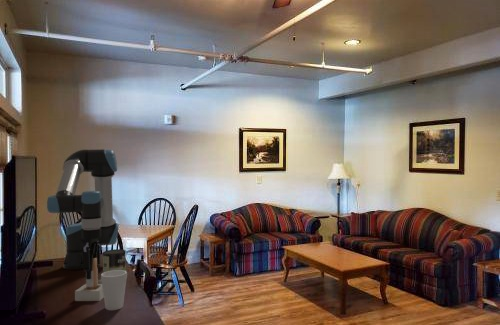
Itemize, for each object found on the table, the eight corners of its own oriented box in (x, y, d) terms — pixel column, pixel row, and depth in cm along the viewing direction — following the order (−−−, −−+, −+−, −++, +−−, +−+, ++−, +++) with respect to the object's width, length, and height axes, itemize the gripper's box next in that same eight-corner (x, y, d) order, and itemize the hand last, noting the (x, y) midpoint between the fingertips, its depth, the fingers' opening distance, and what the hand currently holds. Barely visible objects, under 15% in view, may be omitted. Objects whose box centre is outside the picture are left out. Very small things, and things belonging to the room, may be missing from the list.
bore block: (91, 288, 170) (91, 279, 170) (114, 288, 170) (114, 279, 170) (75, 301, 154) (74, 291, 154) (99, 300, 154) (99, 290, 154)
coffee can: (130, 278, 184) (129, 249, 184) (118, 285, 173) (118, 254, 174) (110, 277, 186) (110, 248, 186) (98, 284, 176) (98, 253, 176)
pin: (89, 290, 160) (89, 257, 160) (98, 290, 160) (98, 257, 160) (85, 294, 156) (84, 259, 156) (94, 294, 156) (94, 259, 156)
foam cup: (101, 313, 140) (101, 278, 140) (100, 305, 149) (100, 271, 149) (128, 309, 144) (128, 274, 144) (126, 301, 153) (125, 268, 153)
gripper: (91, 225, 167) (91, 278, 167) (73, 232, 150) (73, 291, 150) (108, 225, 167) (108, 278, 166) (91, 231, 150) (92, 291, 150)
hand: (92, 284), depth 158 cm, fingers closed on pin, 4 cm apart
